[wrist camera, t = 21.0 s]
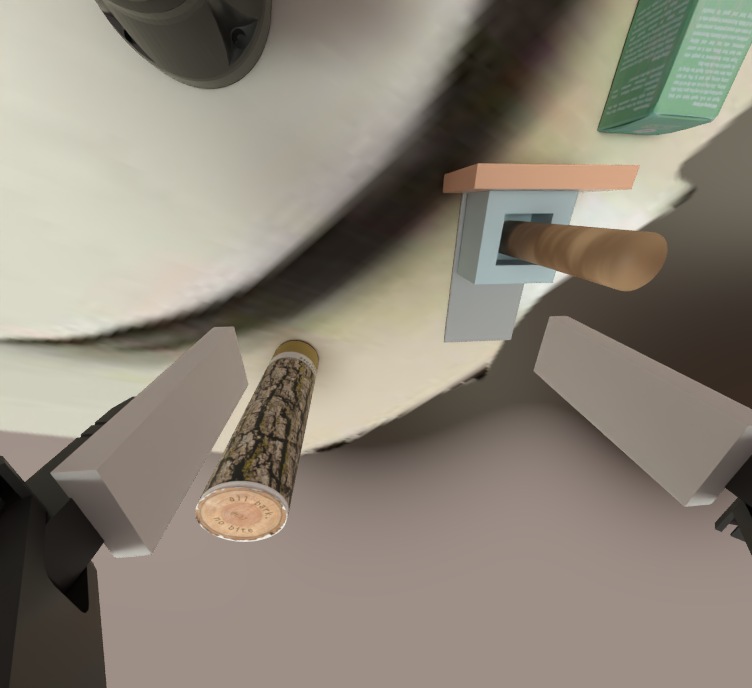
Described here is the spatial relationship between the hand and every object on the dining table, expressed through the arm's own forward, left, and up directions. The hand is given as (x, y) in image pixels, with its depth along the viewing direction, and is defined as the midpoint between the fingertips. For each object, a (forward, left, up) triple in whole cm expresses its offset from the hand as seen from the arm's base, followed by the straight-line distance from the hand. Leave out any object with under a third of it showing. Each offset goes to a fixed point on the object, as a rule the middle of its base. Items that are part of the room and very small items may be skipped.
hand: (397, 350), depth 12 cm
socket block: (-2, +18, -29) cm, 34 cm away
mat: (+2, +18, -29) cm, 34 cm away
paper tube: (+16, -11, -29) cm, 35 cm away
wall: (-8, +18, -29) cm, 35 cm away
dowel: (-2, +18, -26) cm, 32 cm away
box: (-20, +32, -29) cm, 48 cm away
